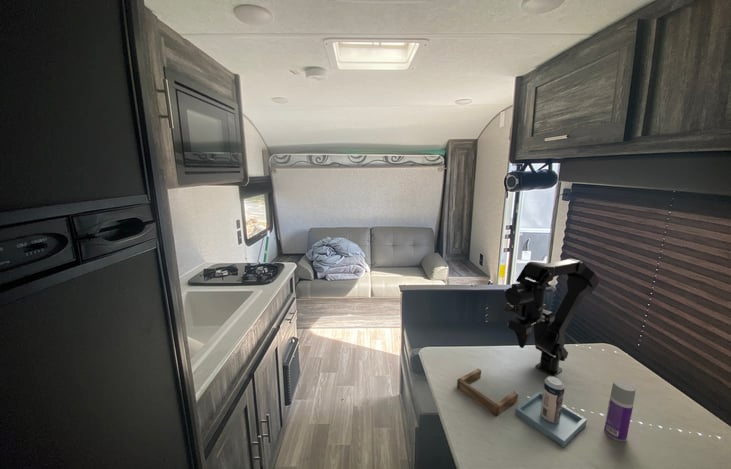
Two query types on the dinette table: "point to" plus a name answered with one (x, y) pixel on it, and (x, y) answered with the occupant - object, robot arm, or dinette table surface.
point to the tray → (555, 431)
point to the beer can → (552, 399)
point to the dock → (482, 399)
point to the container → (619, 410)
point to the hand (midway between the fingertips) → (528, 343)
